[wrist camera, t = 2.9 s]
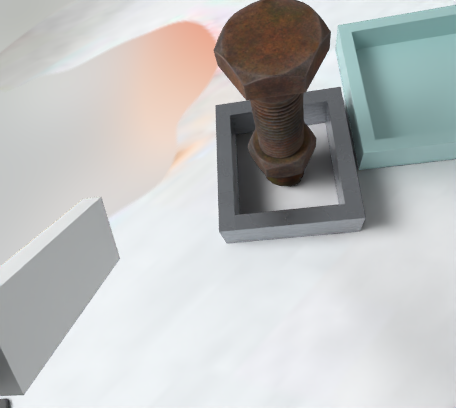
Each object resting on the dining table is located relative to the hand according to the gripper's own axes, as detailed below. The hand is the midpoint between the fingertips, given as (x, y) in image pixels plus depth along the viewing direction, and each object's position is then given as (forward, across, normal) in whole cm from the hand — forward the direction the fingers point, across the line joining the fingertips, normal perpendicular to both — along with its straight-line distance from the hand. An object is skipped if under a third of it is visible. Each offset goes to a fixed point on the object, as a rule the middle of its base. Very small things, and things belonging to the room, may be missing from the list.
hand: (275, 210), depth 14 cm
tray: (+22, +14, 0) cm, 26 cm away
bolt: (+18, +1, -5) cm, 19 cm away
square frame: (+18, +1, -4) cm, 19 cm away
